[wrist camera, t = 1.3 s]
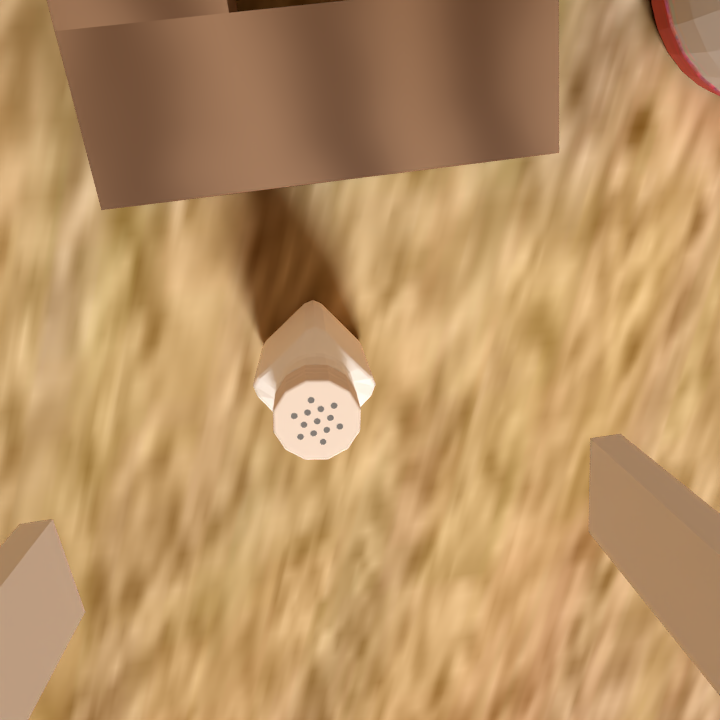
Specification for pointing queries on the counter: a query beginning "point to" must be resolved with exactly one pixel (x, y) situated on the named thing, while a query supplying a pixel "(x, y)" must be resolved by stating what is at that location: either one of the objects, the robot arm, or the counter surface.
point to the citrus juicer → (692, 38)
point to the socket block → (303, 90)
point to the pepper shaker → (314, 383)
